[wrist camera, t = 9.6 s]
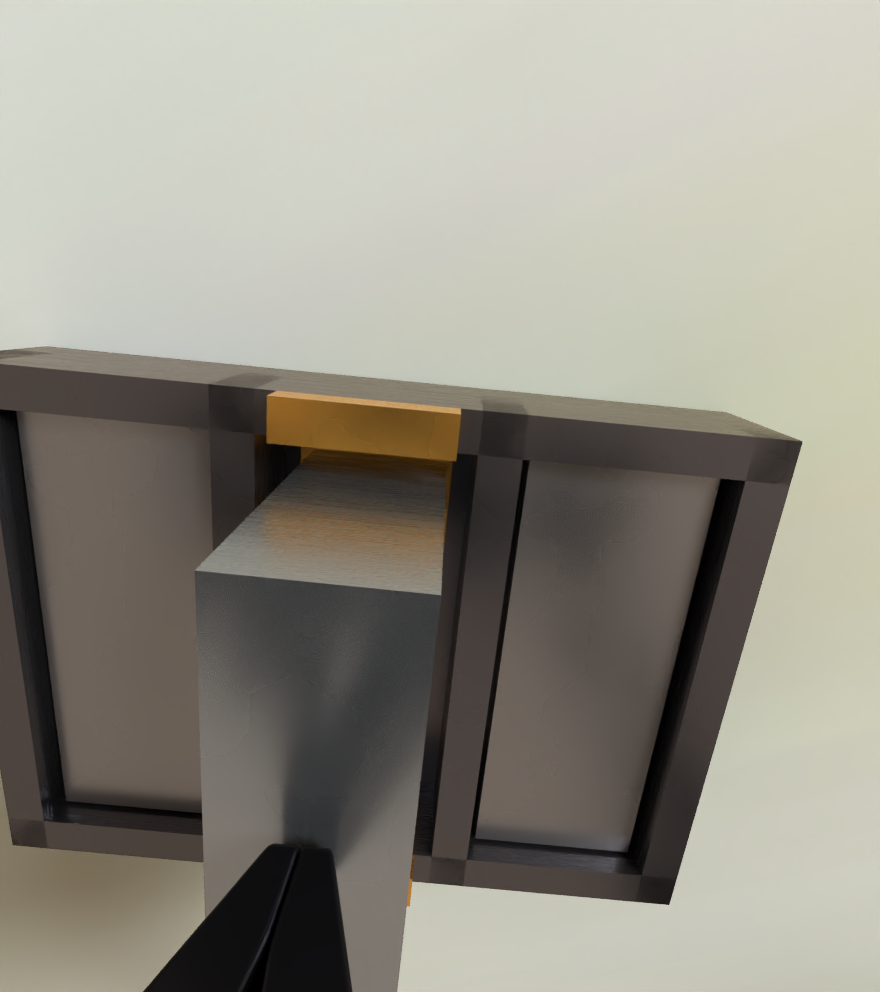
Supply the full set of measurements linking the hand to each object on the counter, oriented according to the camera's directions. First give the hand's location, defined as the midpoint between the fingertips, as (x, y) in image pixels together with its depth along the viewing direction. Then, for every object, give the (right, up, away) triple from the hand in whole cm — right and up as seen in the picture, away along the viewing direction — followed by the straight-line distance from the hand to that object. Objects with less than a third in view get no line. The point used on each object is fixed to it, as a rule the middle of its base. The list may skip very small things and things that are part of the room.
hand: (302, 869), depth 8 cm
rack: (0, +2, +7) cm, 7 cm away
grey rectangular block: (0, +2, +6) cm, 6 cm away
